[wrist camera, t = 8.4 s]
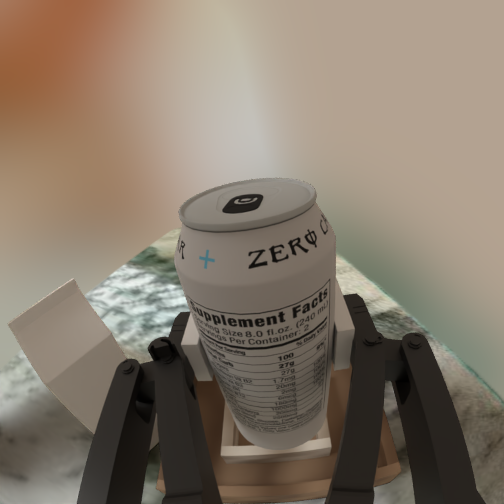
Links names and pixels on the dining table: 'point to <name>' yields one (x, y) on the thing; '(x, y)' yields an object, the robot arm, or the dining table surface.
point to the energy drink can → (263, 302)
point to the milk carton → (71, 352)
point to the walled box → (280, 452)
